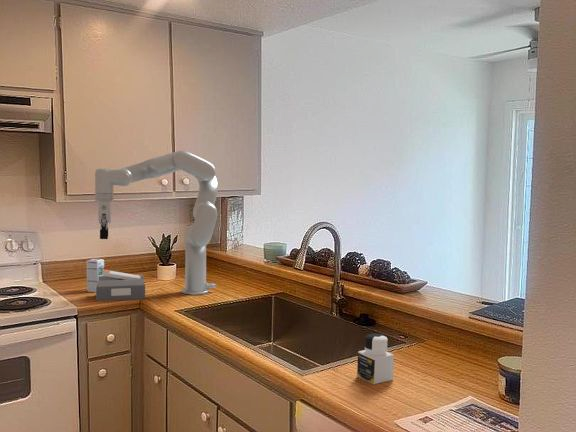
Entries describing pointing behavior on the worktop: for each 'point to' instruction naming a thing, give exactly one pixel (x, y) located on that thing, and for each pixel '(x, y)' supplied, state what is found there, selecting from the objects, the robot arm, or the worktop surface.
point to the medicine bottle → (375, 360)
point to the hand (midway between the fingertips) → (104, 237)
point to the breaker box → (119, 289)
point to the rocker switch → (120, 275)
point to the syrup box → (94, 273)
